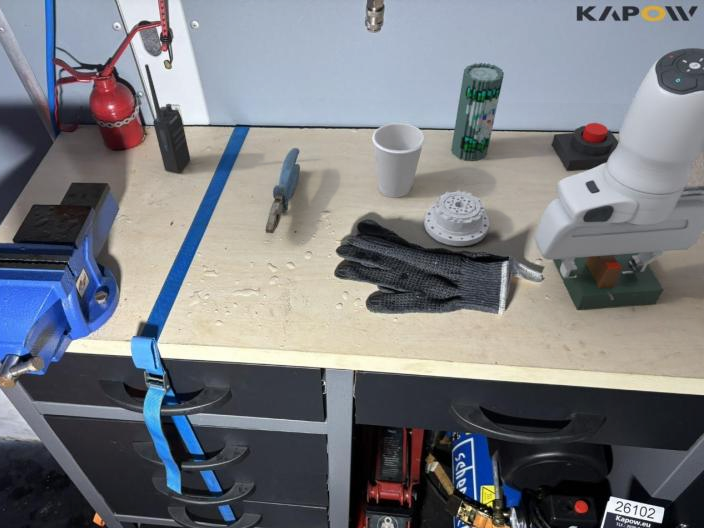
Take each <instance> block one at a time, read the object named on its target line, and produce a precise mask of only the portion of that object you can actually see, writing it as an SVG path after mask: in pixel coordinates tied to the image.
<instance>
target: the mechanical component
mask: <svg viewBox="0 0 704 528" xmlns="http://www.w3.org/2000/svg"><path fill="white" fill-rule="evenodd" d="M423 223H424V225H423V226H424V228H425V232H427V233H428V235H429V236H430V237H431V238H433V239H434V240H436V241H437V242H438V243H441V244H444V245H447V246H452V247H465V246H471V245H474V244H477V243H479V242H481V241H482V240H483V239H484V238H485V237H487V234H488V232H489V229H490V218H489V215H488V213H487V212H486V211H485V205H484V203H483V202H482V199H481V197H480V198H479V197H476V196H475V195H473V194H472V192H467V191H465V190H462V191H461V190H458V189H457V190H456V191H453V192H450V191H446V192H445V193H444V194H442V195H440V196H437V198H436V200H435V201H434V203H433V204H432V205H430V207H429V208H428V209H427V210H426V212H425V216H424V221H423Z"/></svg>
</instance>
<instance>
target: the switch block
mask: <svg viewBox="0 0 704 528" xmlns="http://www.w3.org/2000/svg"><path fill="white" fill-rule="evenodd" d="M585 127H586V125H581V126H579V127H577V128H575V129H574V131H573V132H569V133H568V132H567V133H566V132H565V133H554V135H553V139H552V142H551V146H552V148H553V150H554V152H555V154H557V157H558V159H559V160H560V162H561V163H562V165H563V168H564V169H565V170H566V171H567V172H569V171H582V170H583V171H584V170H585V171H586V170H590V169H592V168H595V167H597V166H599V165H601V164H604V163H607V161H608V159H609V157H610V155H611V154H612V152H613V151H614V150H615V149H616V147H617V145H618V142H619V140H618V139H617V137H616V136H615V135H614V134H613V132H612V131H611V129H608V132H607V134H606V137H605V140H604V141H603V142H601V143H593V142H588V141H587V140H585V139H583V137H582V135H583V132H584V129H585Z"/></svg>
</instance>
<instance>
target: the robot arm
mask: <svg viewBox="0 0 704 528" xmlns="http://www.w3.org/2000/svg"><path fill="white" fill-rule="evenodd" d="M702 155H704V48H698V47H691V48H690V47H688V48H681V49H676V50H672V51H670V52H667V53H665V54H663V55H662V56H661V57H659V58H658V59H657V60H656V61H655V62H654V63H653V65H652V66H651V67H650V69H649V70H648V72H647V73H646V75H645V77H644V78H643V80H642V82H641V83H640V85H639V87H638V89H637V90H636V92H635V94H634V96H633V98H632V100H631V101H630V104H629V107H628V109H627V111H626V113H625V115H624V118H623V120H622V123H621V125H620V127H619V132H618V145H617V147H616V149H615V150H614V151H613V152H612V154H611V155H610V157H609V159H608V161H607V163H604V164H601V165H599V166H597V167H595V168H592V169H586V170H585V171H581V172H579V173H576V174H573V175H569V176H566V177H564V178H562V179H560V180H559V181H558V183H557V186H556V193H557V195H558V197H556V198H554V199H553V200H552V201H550V203H549V204H548V206H546V209H545V210H544V212H543V214H542V216H541V219H540V221H539V224H538V226H537V228H536V232H535V235H534V241H535V245H536V248H537V250H538V251H539V253H540V255H541V256H542V257H543V258H544V259H545V260H547V261H551V260H552V261H553V259H561V260H562V264H561V267H560V272H561V274H562V276H563V278H566V277H575V275H576V274H575V273H577V270H578V268H577V266H576V265H575V262H574V259H575V258H579V257H592V256H606V255H619V254H633V253H639V254H638V255H634V256H631V258H630V261H629V262H628V267H629V268H630V269H631V272H643V271H644V270H645V268H646V267H647V265H649V264H651V263H652V262H654V261H655V260H656V259H658V258H659V257H661V256H663V253H664V252H671V251H672V252H673V251H685V250H689V249H691V248H692V247H694V246H695V245H697V244H698V242H699V241H700V239H701V237H702V235H703V233H704V184H699V185H696V186H690V185H689V186H688V183H689V180H690V178H691V171H692V168H693V165H694V164H695V162H696V161H697V160H698V159H699V158H700V157H701V156H702Z"/></svg>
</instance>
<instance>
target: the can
mask: <svg viewBox="0 0 704 528" xmlns="http://www.w3.org/2000/svg"><path fill="white" fill-rule="evenodd" d="M504 73H505V72H504V71H503V69H502V68H501V67H499V66H497V65H495V64H491V63H483V62H480V63H477V62H476V63H473V64H470V65H467V66H466V67H465V68H464V69H463V74H462V81H461V86H460V93H459V98H458V106H457V112H456V118H455V124H454V131H453V137H452V141H451V142H452V143H451V149H450V151H451V153H452V155H453V156H455V157H456V158H458V159H459V160H461V159H462V160H463V161H467V162H468V161H470V162H472V161H475V162H476V161H479V160H481V159H484V158H486V156H487V155H488V150H489V146H490V142H491V137H492V133H493V127H494V122H495V117H496V113H497V109H498V103H499V99H500V94H501V90H502V85H503V81H504V80H503V79H504V75H505V74H504Z"/></svg>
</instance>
